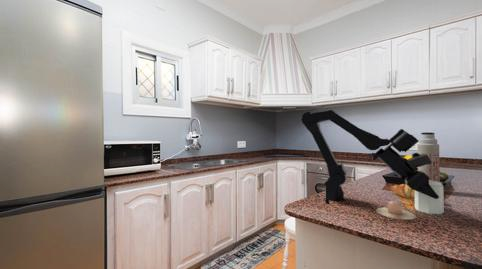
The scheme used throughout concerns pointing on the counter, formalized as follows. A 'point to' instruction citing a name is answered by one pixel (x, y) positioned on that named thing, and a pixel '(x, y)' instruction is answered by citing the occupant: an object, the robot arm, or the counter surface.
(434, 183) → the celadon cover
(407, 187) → the croissant
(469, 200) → the counter surface
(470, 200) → the counter surface
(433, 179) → the thermos bottle
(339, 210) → the counter surface
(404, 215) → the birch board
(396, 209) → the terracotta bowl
